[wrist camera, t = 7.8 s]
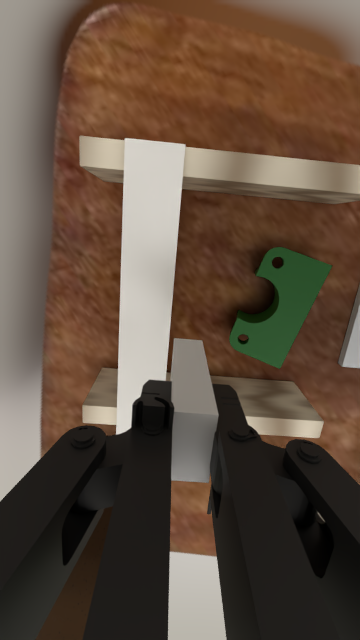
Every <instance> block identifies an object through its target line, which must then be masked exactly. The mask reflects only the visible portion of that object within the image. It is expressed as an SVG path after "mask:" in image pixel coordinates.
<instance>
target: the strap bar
mask: <svg viewBox="0 0 360 640" xmlns="http://www.w3.org/2000/svg"><path fill="white" fill-rule="evenodd" d="M184 156H185V144H177V143H168V142H158V141H149V140H139V139H130V138H125V150H124V184H123V218H122V252H121V286H120V320H119V354H118V388H117V422H116V435H117V434H121V433H123V432H126V431H127V430H129V429H130V428H131V422H132V404H133V403H134V401H135V400H136V399H138V398H139V397H141V392H142V388H143V385H144V384H145V383H146V382H147V381H148V380H161V381H166V370H167V358H168V346H169V334H170V322H171V310H172V299H173V287H174V275H175V263H176V251H177V239H178V227H179V215H180V203H181V191H182V179H183V168H184Z"/></svg>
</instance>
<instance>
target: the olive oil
mask: <svg viewBox="0 0 360 640" xmlns="http://www.w3.org/2000/svg"><path fill="white" fill-rule="evenodd" d="M112 509H113V506H112V507H108V508H104V511H103V514H102V516H101V518H100V520H99V521H98V523H97V525H96V527H95V529H94V531H93V533H92V535H91V536H90V538H89V540H88V542H87V544H86V546H85V548H84V550H83V551H82V553H81V555H80V557H79V559H78V561H77V563H76V564H75V566H74V568H73V570H72V572H71V574H70V576H69V578H68V579H67V581H66V583H65V585H64V587H63V589H62V591H61V593H60V594H59V596H58V598H57V600H56V602H55V604H54V606H53V607H52V609H51V611H50V613H49V615H48V617H47V619H46V621H45V622H44V624H43V626H42V628H41V630H40V632H39V634H38V635H37V637H36V639H35V640H82V639H83V635H84V630H85V626H86V622H87V617H88V613H89V609H90V604H91V600H92V596H93V591H94V587H95V583H96V578H97V574H98V570H99V565H100V561H101V556H102V552H103V548H104V543H105V539H106V535H107V530H108V526H109V522H110V517H111V513H112Z"/></svg>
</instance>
